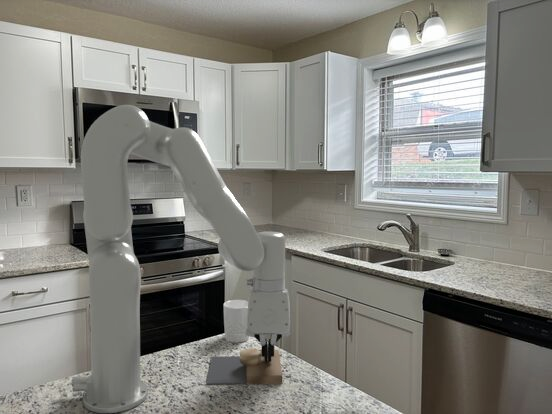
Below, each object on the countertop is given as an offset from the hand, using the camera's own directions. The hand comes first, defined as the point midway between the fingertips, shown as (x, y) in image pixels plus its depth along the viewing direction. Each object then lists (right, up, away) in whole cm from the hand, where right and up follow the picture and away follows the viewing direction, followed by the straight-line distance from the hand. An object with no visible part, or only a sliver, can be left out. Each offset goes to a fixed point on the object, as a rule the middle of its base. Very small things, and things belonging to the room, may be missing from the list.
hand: (267, 359), depth 103 cm
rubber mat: (-9, -3, 0) cm, 10 cm away
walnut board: (-1, -3, 0) cm, 3 cm away
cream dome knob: (-4, -1, 0) cm, 4 cm away
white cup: (-9, -1, +20) cm, 22 cm away
